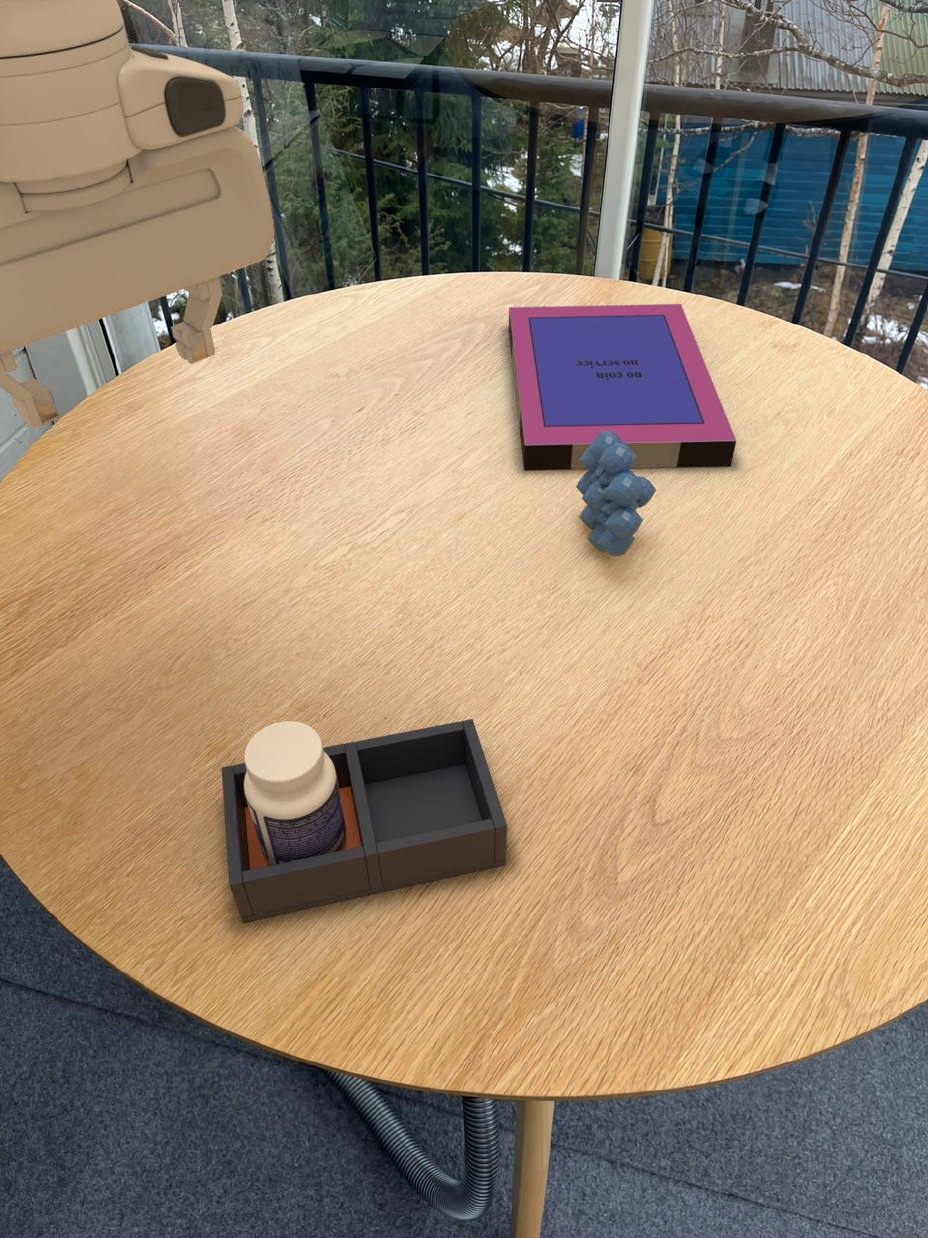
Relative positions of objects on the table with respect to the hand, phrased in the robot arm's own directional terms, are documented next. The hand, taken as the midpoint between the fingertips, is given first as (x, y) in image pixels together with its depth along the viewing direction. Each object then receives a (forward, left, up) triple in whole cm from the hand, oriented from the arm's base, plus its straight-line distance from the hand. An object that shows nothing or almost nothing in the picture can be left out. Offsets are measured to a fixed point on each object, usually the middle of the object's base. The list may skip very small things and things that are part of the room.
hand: (122, 386), depth 51 cm
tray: (+9, -12, -29) cm, 33 cm away
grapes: (+36, +13, -29) cm, 48 cm away
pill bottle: (+5, -12, -28) cm, 31 cm away
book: (+45, +39, -29) cm, 66 cm away
